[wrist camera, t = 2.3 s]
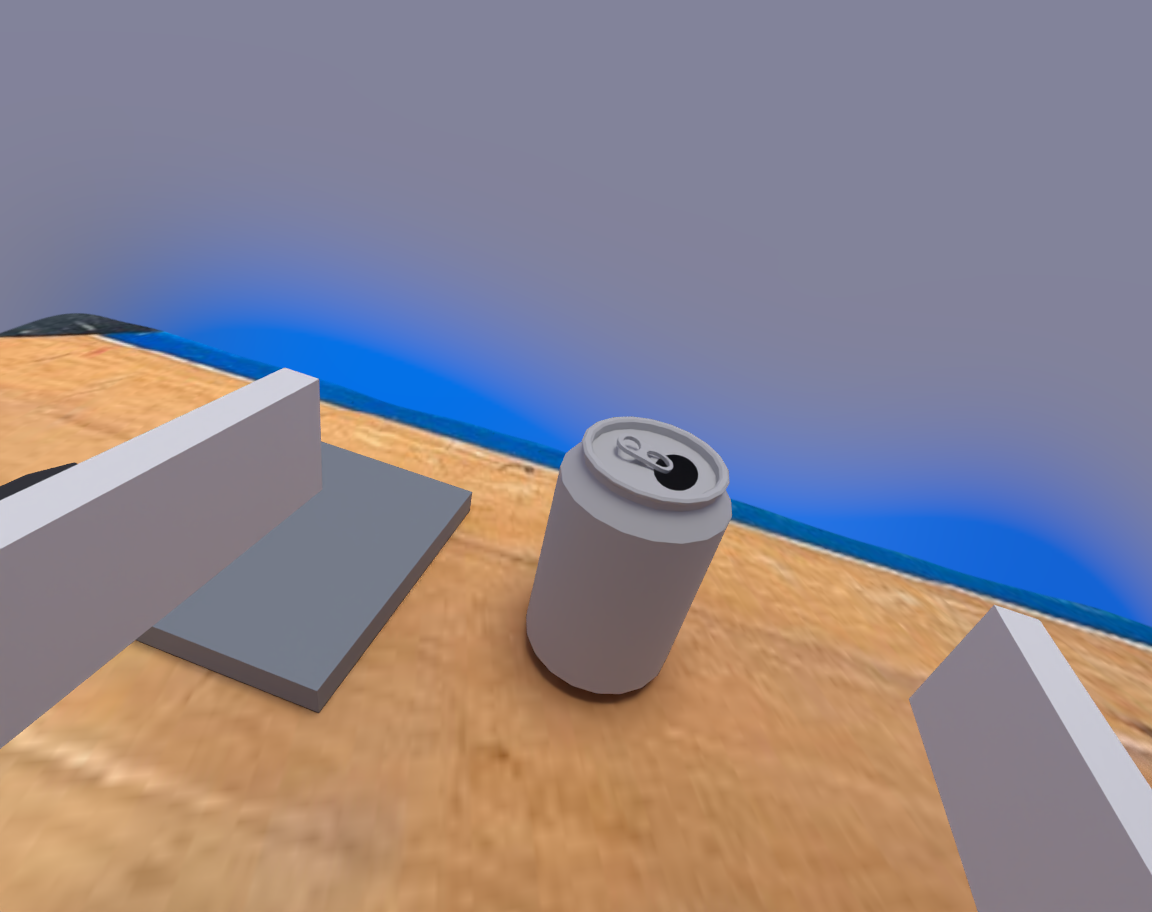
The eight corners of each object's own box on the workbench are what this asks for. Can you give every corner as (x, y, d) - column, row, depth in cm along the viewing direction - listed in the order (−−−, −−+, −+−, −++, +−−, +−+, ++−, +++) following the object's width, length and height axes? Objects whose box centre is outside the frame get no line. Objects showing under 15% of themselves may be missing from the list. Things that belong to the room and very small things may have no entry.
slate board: (469, 510, 35) (472, 492, 34) (318, 712, 22) (317, 691, 22) (252, 436, 37) (250, 417, 36) (-1, 585, 24) (-13, 561, 23)
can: (642, 733, 25) (737, 535, 18) (497, 663, 26) (538, 458, 20) (675, 619, 31) (754, 443, 25) (556, 568, 32) (601, 389, 26)
